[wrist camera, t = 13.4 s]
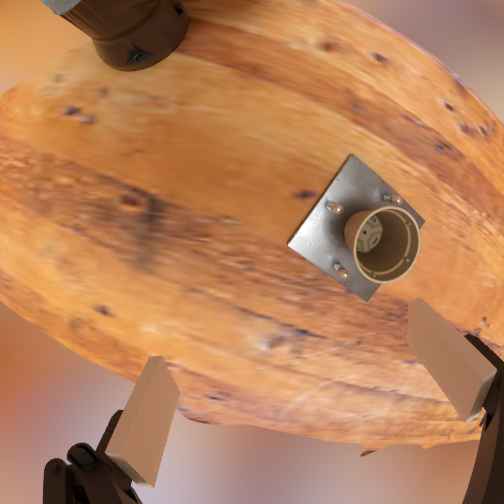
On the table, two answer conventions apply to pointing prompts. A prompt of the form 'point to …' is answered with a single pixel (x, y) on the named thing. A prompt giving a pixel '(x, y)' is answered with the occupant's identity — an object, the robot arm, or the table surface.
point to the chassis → (335, 218)
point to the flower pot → (383, 243)
